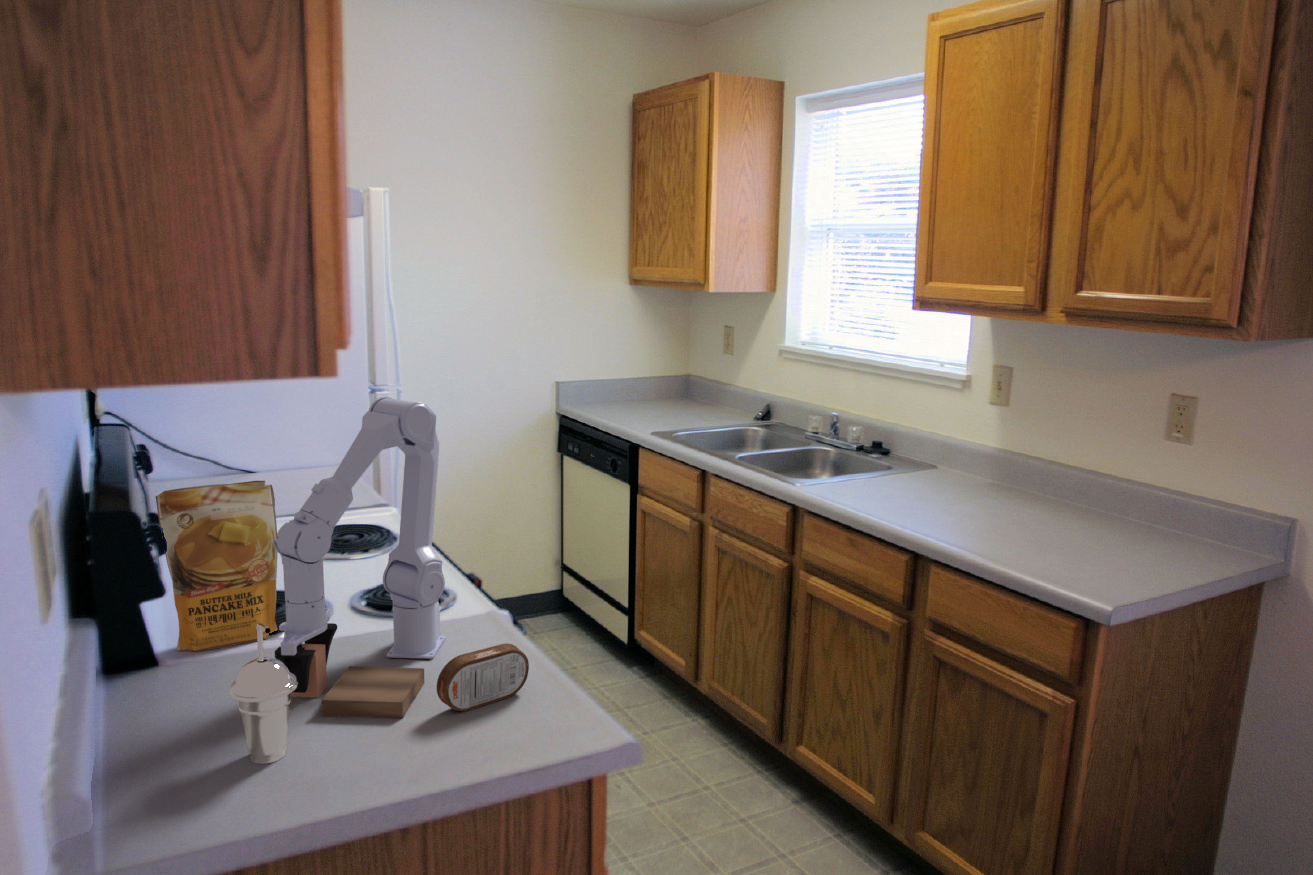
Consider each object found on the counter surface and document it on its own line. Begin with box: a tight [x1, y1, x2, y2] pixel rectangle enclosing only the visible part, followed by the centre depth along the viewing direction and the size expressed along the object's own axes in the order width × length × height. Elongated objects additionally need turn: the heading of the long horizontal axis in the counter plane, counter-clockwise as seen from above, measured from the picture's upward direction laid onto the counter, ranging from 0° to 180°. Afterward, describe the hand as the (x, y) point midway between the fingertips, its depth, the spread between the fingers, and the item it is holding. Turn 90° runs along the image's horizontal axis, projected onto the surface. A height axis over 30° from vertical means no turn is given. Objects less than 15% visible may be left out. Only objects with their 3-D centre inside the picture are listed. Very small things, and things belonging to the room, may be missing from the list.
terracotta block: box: [291, 643, 328, 698], centre depth 148 cm, size 4×4×7 cm
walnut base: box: [321, 665, 425, 719], centre depth 146 cm, size 12×12×2 cm
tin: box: [436, 642, 530, 712], centre depth 145 cm, size 15×3×8 cm, turn 130°
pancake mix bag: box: [155, 480, 279, 652], centre depth 165 cm, size 7×19×28 cm, turn 122°
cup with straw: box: [229, 622, 298, 765], centre depth 127 cm, size 8×9×20 cm
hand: (309, 680), depth 148 cm, fingers open, 7 cm apart
